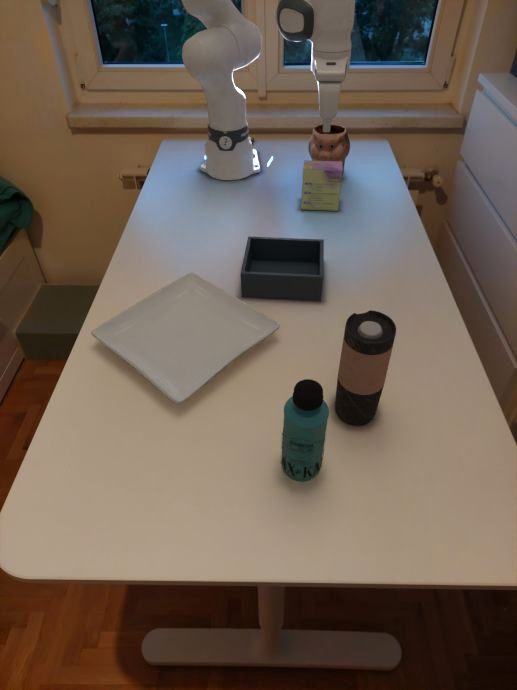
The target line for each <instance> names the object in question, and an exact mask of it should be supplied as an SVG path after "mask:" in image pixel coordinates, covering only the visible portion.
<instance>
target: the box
mask: <svg viewBox="0 0 517 690" xmlns="http://www.w3.org/2000/svg"><path fill="white" fill-rule="evenodd" d="M342 173H343V174H344V172H343V165H342V162H338V161H312V159H311V160H309V159H308V160H307V159H304V160H303V167H302V181H301V198H300V199H301V200H300V210H311V211H313V210H314V211H330V212H331V211H333V212H338V211H339V207H340V201H341V200H340V199H341V190H342V181H343V175H342Z"/></svg>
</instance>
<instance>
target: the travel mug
mask: <svg viewBox="0 0 517 690" xmlns="http://www.w3.org/2000/svg"><path fill="white" fill-rule="evenodd" d="M396 335H397V326H396V324H395V321H394V320H393V319H392V318H391V317H390V316H389V315H387V314H385V313H383V312H381V311H377V310H373V309H371V310H368V311H366V312H362V313H356V312H354V313H352V314H350V316H348V318H347V319H346V321H345V326H344V332H343V339H342V346H341V351H340V358H339V365H338V370H337V379H336V389H335V400H334V412H335V415H336V417H337V418H338V419H339V420H340V421H341V422H343V423H344V424H346V425H349V426H351V427H362V426H366V425H368V424H370V423H371V422H372V421H373V420H374V419H375V416H376V414H377V410H378V407H379V403H380V399H381V397H382V393H383V390H384V387H385V382H386V379H387V373H388V369H389V366H390V361H391V356H392V352H393V347H394V343H395V339H396Z"/></svg>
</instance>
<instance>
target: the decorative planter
mask: <svg viewBox="0 0 517 690" xmlns="http://www.w3.org/2000/svg"><path fill="white" fill-rule="evenodd" d="M311 133H312V135H311V137H310V138H309V142H308V146H307V147H308V148H307V149H308V150H307V151H308V153H309V156H310V159H311V161H338V162H342V165H343V173H342V176H343V175H344V172H345V163H346V158H347V157H348V156H349V153H350V151H351V141H350V137H349V134H348V129H347V128H346V127H345V126H343V125H341V124H336V123H331V127H330V132H323V123H322V124H318V125H316V126H314V127H313V129H312V132H311Z"/></svg>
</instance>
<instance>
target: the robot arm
mask: <svg viewBox="0 0 517 690" xmlns="http://www.w3.org/2000/svg"><path fill="white" fill-rule="evenodd" d="M181 3H182V5H183V8H184V9H185V11H186V12H187V13H188V14H189V15H191V16H193V17H195V18H196V19H198V21H200V22H201V23H202V24H203V26H204V27H205V28H206V29H204V30H200V31H198V32H196V33H194V34H193V35H192V36H191V37H189V38H188V39H187V40H186V41H185V42H184V43H183V46H182V50H181V58H182V59H181V60H182V62H183V66H184V68H185V71H186V72H187V73H188V74H189V75H190V76H191V77H192V78H193V79H195V80H196V81H197V82H198V83H199V85H200V86H201V88H202V91H203V93H204V96H205V100H206V101H205V102H206V109H207V119H208V124H207V135H208V137H207V138H208V140H207V141H206V142H205V143H204V144H203V145H204V146H203V148H204V155H203V156H204V157H203V158H204V162H203V163H202V164H201V165H200V171H201V172H204V173H205V174H207V175H209V176H210V177H211V178H214V179H215V180H221V181H237V180H242V179H245V178H248V177H250V176H252V175H253V174H258V173H261V170H262V169H261V165H260V161H259V156H258V151H257V150H256V149H254V145H253V144H252V143H253V141H255V138H254V137H250V135H249V132H250V128H249V123H248V121H247V98H246V95H245V93H244V91H242V90H241V89H240V88H238V86H236V85H235V82H234V77H233V74H234V71H237V70H239V69H243V68H246V67H247V66H249V65H250V64H251V63H253V62H254V61H255V60H257V59H258V58H259V56H260V55H261V53H262V49H263V36H262V33H261V31H260V29H259V27H258V26H257V25H256V24H255V23H254V22H252V21H250V20H249V19H247V18H246V17H245V16H244V15H243V14H242V13H241V12H240V11H239V9H238V8H237V7H236V6H235V3H233V1H232V0H181ZM355 9H356V0H279V1H278V5H277V7H276V11H275V19H276V25H277V28H278V31H279V33H280V34H281V36H282V37H283V38H284V39H285V40H286V41H288V42H295V43H299V42H303V41H304V42H305V41H310V43H311V62H310V71H311V72H312V73H313V75H314V78H315V81H316V82H317V89H318V90H317V92H318V108H319V109H318V110H319V117H320V118H321V119H322V124H323V132H330V127H331V124H332V121H333V119H335V118H336V116H337V113H338V108H339V103H340V97H341V91H342V90H341V89H342V86H343V82H345V81H346V76H347V74H348V72H349V71H350V67H351V58H352V57H351V56H352V38H351V36H352V32H353V28H354V25H355V24H354V23H355V13H356V12H355V11H356V10H355ZM272 161H274V156H273V155H272V156H271V157H270V159H269V160H268V162H267V163H266V167H267V168H268V167H269V166H270V165H271V164H272Z"/></svg>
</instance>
